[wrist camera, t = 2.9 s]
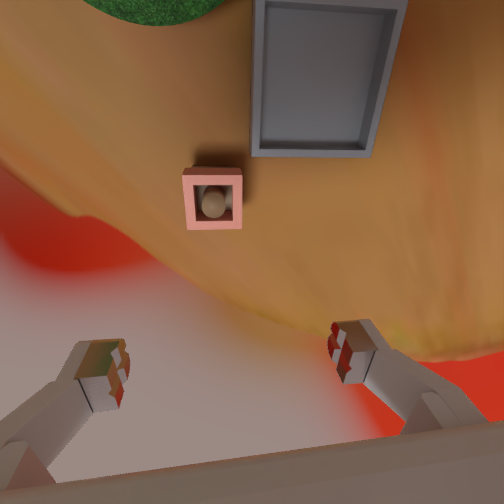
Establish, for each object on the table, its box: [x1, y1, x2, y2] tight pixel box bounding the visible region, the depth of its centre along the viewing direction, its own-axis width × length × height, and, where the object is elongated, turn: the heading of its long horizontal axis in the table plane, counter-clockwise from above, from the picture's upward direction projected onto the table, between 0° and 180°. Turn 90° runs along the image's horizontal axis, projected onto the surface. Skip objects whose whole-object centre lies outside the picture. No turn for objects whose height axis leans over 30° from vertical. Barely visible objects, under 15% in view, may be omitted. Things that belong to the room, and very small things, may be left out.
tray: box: [249, 0, 408, 158], centre depth 28 cm, size 14×14×3 cm
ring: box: [182, 168, 242, 230], centre depth 30 cm, size 6×6×3 cm
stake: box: [192, 166, 235, 218], centre depth 31 cm, size 5×5×7 cm
